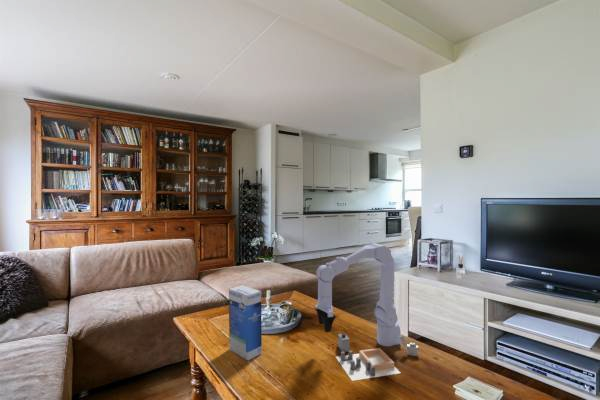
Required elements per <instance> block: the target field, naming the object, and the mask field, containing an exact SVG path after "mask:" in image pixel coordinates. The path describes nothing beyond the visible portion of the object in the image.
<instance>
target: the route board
mask: <svg viewBox="0 0 600 400" xmlns="http://www.w3.org/2000/svg"><path fill="white" fill-rule="evenodd" d="M367 357H368V358H369V359H370V360H371V362H372V363H373V364H376V363H383V362H386V361H385V360H384V359H383V358H382V357H381V356H380V355H379V354H378V355H370V356H367ZM335 358H336V360H337V361H338V363H339V364H340V365H341V367H342V369H343V370H344V371H345V373H346V374H347V376H348V377H349V379H350V380H351V382H354V381H360V380H367V379H372V378H373V379H374V378H380V377H385V376H386V377H387V376H391V375H398V374H401V371H399V369H398V368H397V367H396V366H394V368H390V369H383V370H377V371H375V367H374V366H371V362H370V361H366V363H365V362H364V361H363V360H362V358H361V357H360V356H359V353H354V354H353V350H349V351H348V355H347V354H346V352H342V351H340V355H339V356H338V355H337V356H335Z"/></svg>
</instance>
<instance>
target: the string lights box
mask: <svg viewBox="0 0 600 400" xmlns="http://www.w3.org/2000/svg"><path fill="white" fill-rule="evenodd" d="M228 323H229V324H228V326H229V327H228V329H229V330H228V333H229V334H228V337H229V339H228V340H229V346H228V347H229V350H230V351H231V352H233V353H235V354H237V355H239V357H241V358H243V359H244V360H247V361H250V360H252V359H254V358H256V357H258V356H260V355H262V353H263V352H262V351H263V350H262V345H263V344H262V343H263V342H262V340H263V339H262V329H263V328H262V291H261V290H259V289H255V288H252V287H249V286H246V285H242V284H241V285H238V286H235V287H231V288H228Z"/></svg>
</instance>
